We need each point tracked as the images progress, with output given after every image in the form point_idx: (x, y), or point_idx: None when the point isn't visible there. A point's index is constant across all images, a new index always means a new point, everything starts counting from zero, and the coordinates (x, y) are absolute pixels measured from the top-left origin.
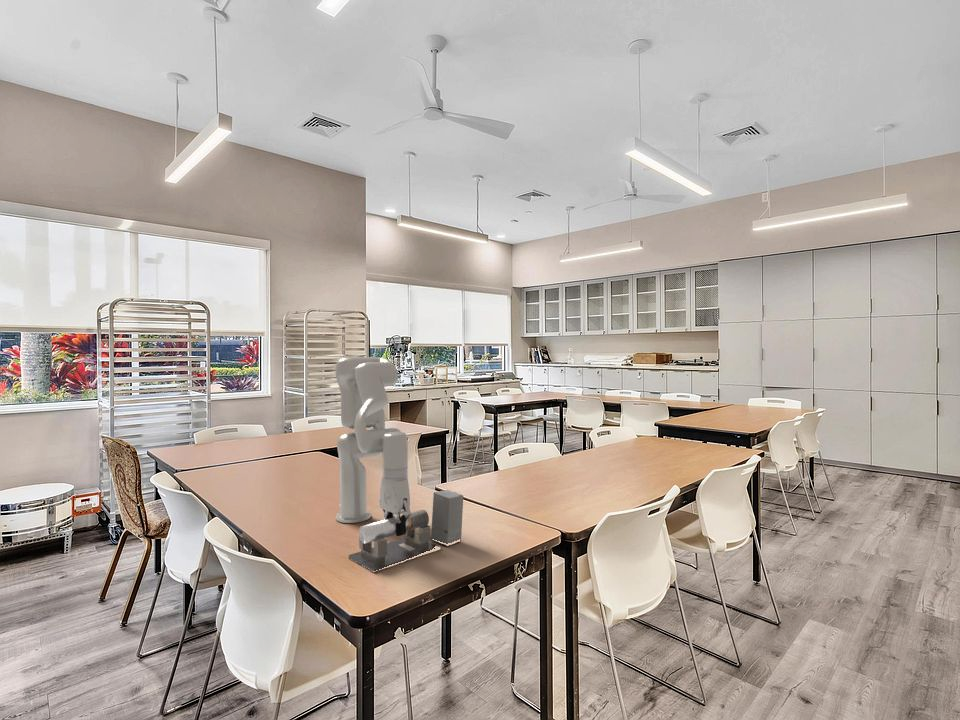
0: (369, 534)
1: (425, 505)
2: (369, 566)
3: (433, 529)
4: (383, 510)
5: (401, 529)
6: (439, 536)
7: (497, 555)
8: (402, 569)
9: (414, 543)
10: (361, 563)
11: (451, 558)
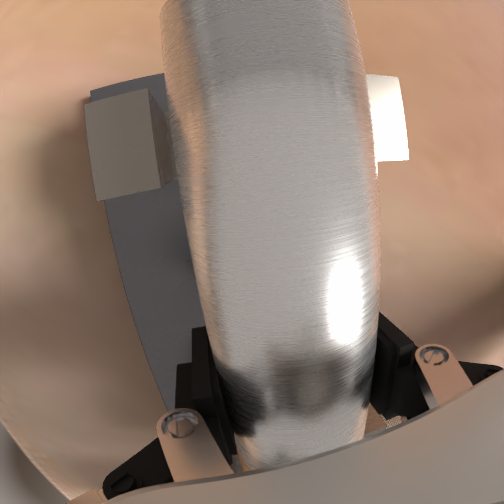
0: (160, 27)
1: None
2: (138, 81)
3: None
4: (490, 368)
5: (178, 386)
6: (240, 471)
7: (77, 490)
8: (61, 233)
9: None
10: None
11: (92, 426)
